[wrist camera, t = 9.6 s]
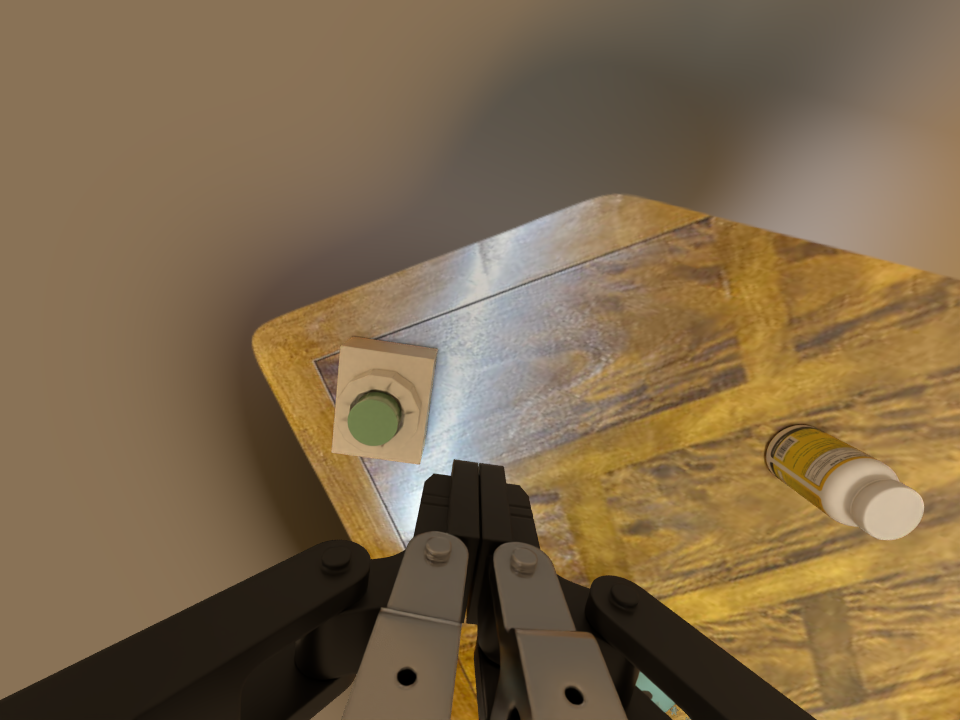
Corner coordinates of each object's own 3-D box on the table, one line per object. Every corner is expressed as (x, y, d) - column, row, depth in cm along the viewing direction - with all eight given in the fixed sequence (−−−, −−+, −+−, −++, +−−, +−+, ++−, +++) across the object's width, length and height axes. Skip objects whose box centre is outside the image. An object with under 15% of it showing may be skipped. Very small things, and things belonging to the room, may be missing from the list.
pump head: (356, 388, 37) (349, 396, 35) (404, 395, 37) (400, 403, 35) (351, 432, 38) (345, 442, 36) (398, 438, 38) (394, 449, 36)
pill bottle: (821, 475, 46) (928, 545, 35) (761, 481, 46) (850, 553, 35) (827, 419, 44) (941, 475, 33) (765, 425, 44) (859, 483, 33)
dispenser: (352, 336, 41) (332, 350, 35) (438, 348, 42) (432, 365, 36) (343, 434, 44) (324, 463, 38) (424, 445, 44) (417, 475, 38)
